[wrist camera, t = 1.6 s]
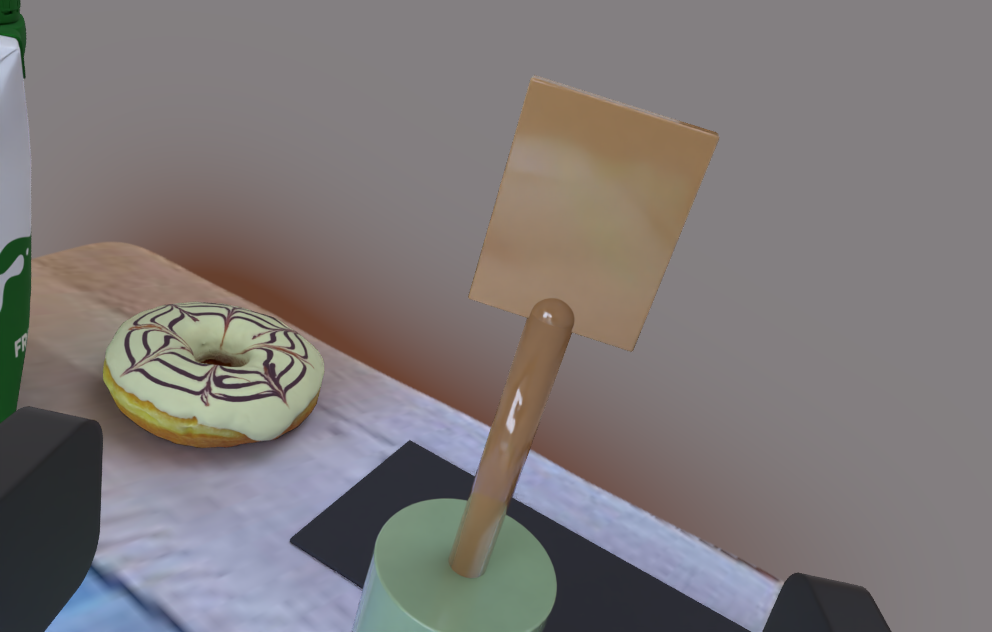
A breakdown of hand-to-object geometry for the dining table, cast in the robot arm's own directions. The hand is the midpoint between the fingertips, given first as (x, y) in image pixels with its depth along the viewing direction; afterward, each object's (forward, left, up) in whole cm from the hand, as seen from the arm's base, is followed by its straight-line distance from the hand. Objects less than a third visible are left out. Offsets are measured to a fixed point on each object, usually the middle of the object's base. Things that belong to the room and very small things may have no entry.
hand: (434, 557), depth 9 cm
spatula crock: (+1, +10, -20) cm, 23 cm away
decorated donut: (-14, +27, -20) cm, 37 cm away
